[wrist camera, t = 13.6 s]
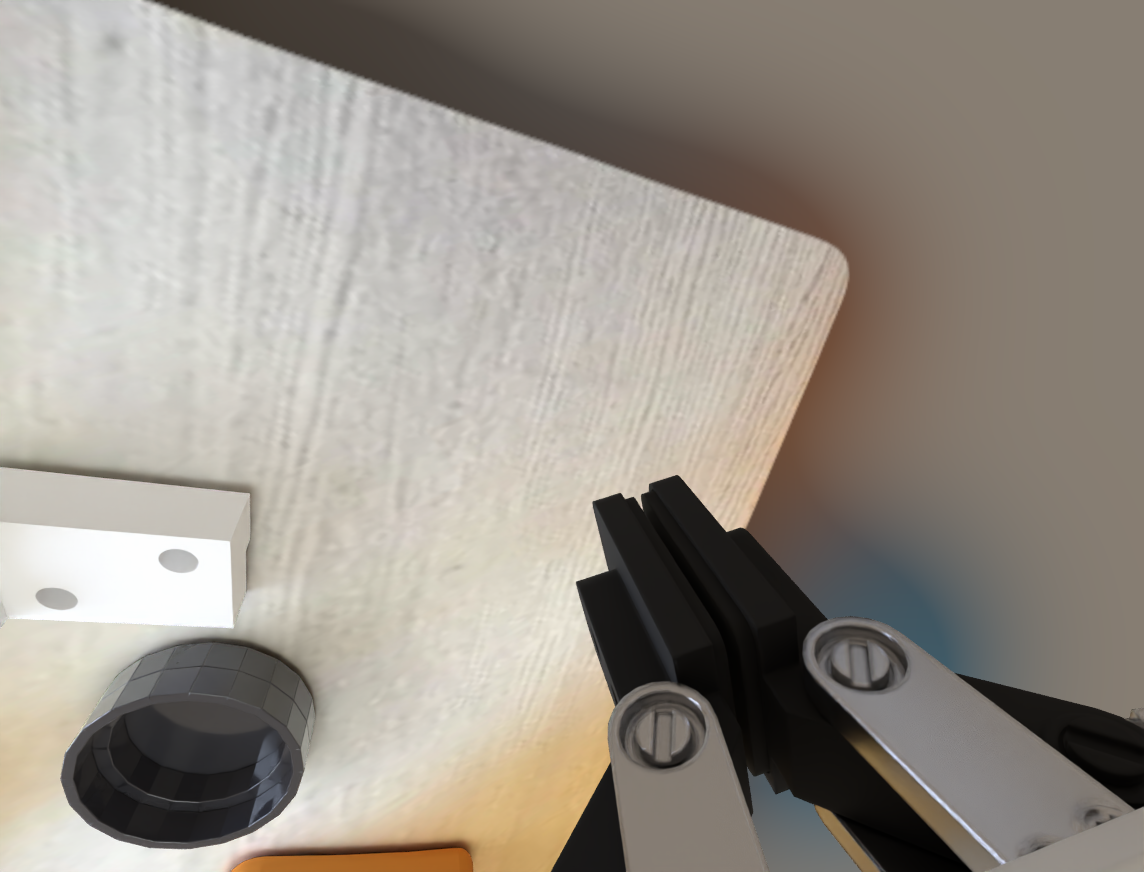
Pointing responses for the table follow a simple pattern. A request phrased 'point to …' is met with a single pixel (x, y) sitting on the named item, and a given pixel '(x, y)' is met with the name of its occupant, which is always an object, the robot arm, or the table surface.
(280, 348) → the table surface
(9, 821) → the table surface
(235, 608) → the bracket
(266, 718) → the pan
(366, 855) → the multimeter
